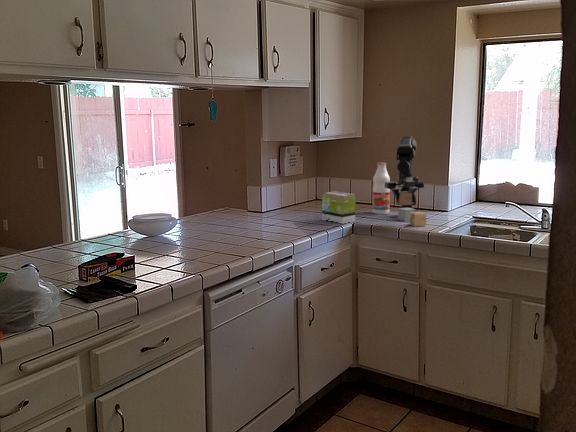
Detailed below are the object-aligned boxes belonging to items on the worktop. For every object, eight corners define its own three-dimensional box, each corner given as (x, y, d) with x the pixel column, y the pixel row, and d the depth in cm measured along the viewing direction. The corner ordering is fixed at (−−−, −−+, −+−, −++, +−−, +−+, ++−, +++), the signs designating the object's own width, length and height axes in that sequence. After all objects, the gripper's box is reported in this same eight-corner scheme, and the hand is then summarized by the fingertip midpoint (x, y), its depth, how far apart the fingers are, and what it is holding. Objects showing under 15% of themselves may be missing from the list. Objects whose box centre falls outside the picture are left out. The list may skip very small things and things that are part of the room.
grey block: (398, 219, 304) (398, 208, 303) (407, 218, 307) (407, 207, 306) (405, 221, 299) (405, 210, 298) (414, 220, 302) (414, 209, 301)
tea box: (321, 220, 304) (321, 192, 301) (334, 218, 310) (334, 190, 308) (342, 224, 293) (342, 195, 290) (355, 221, 299) (356, 193, 297)
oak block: (409, 224, 292) (410, 212, 291) (420, 223, 293) (421, 211, 292) (414, 226, 286) (415, 214, 285) (426, 225, 288) (426, 213, 286)
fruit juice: (388, 211, 329) (389, 162, 324) (390, 214, 319) (391, 163, 314) (371, 211, 329) (372, 162, 324) (373, 214, 320) (374, 163, 315)
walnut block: (395, 203, 293) (396, 191, 292) (407, 203, 294) (407, 191, 293) (400, 205, 287) (400, 193, 286) (411, 204, 289) (412, 192, 287)
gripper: (392, 173, 279) (391, 205, 281) (429, 172, 282) (428, 203, 285) (384, 170, 289) (383, 201, 292) (419, 169, 293) (419, 200, 295)
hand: (403, 202), depth 291 cm, fingers closed on walnut block, 6 cm apart
